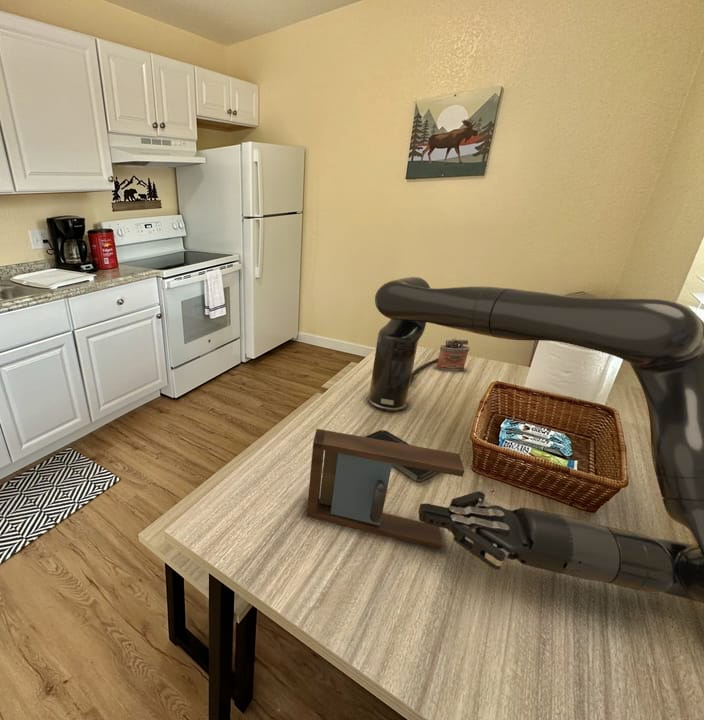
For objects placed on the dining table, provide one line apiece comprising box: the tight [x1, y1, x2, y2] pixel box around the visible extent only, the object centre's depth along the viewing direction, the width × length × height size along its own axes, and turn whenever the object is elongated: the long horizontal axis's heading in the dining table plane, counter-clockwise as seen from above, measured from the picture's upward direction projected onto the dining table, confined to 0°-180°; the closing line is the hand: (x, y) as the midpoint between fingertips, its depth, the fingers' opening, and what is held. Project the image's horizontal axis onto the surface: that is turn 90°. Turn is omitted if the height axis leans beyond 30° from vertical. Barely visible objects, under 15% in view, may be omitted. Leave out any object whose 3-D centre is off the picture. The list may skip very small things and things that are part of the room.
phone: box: [365, 429, 439, 483], centre depth 82 cm, size 8×1×15 cm
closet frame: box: [306, 428, 466, 551], centre depth 63 cm, size 4×21×16 cm, turn 70°
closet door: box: [331, 453, 393, 526], centre depth 61 cm, size 4×8×13 cm, turn 70°
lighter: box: [435, 338, 470, 373], centre depth 118 cm, size 8×3×10 cm, turn 80°
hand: (419, 512), depth 57 cm, fingers closed
